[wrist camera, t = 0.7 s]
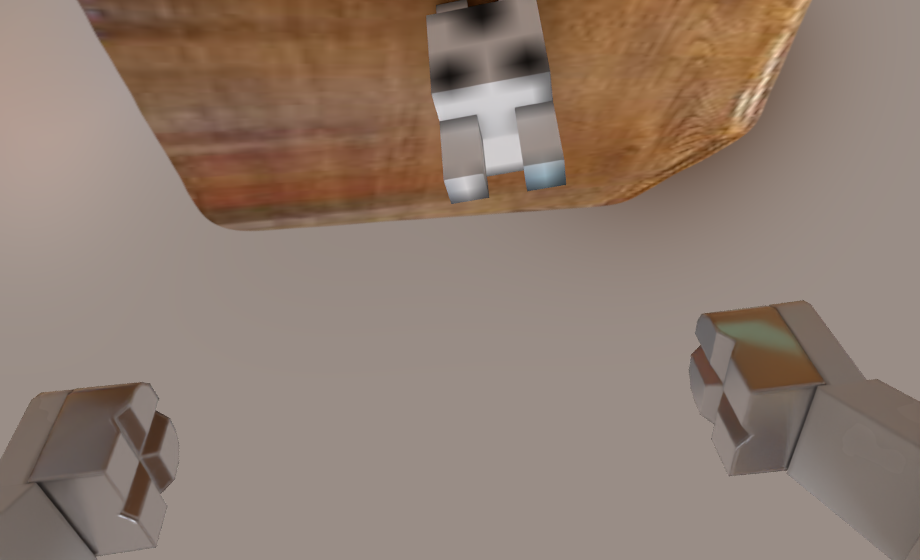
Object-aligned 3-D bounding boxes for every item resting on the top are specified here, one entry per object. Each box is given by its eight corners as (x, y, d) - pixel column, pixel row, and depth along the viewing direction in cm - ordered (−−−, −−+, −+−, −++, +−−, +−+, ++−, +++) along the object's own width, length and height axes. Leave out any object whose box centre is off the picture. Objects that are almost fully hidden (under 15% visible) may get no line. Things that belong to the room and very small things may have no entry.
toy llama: (463, 114, 67) (481, 295, 56) (421, -51, 52) (435, 153, 41) (541, 100, 66) (574, 281, 55) (522, -73, 51) (561, 131, 41)
